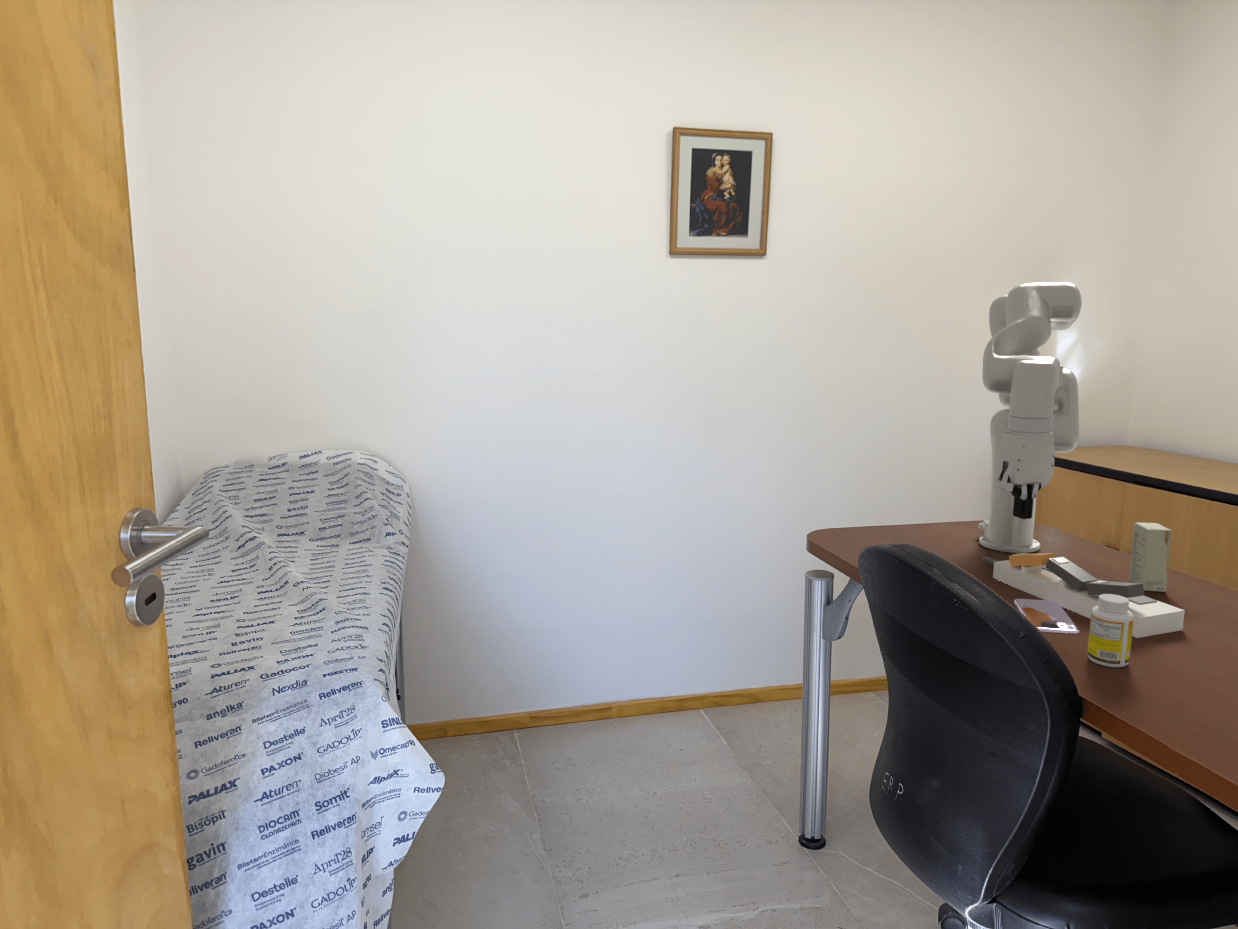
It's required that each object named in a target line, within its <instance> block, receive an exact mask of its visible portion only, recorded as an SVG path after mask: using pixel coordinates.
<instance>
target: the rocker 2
mask: <svg viewBox="0 0 1238 929" xmlns="http://www.w3.org/2000/svg"><path fill="white" fill-rule="evenodd" d="M1046 568H1047V569H1048V570H1050V571H1051V572H1052V573H1054V574H1055V575H1057V576H1058V577H1060V578H1061V579H1062V580H1064V581H1065V582H1067V583H1068V584H1069V585H1071V586H1072V587H1074V588H1075V589H1077V590H1078V591H1085V590H1087V584H1086V583H1091V582H1096V581H1098V580H1099V579H1098V578H1096V577H1094V576H1093V575H1092V574H1090V573H1089V572H1088V571H1086V570H1085V569H1083V568H1082V567H1080V566H1078V565H1077V564H1075V563H1074V562H1072V561H1071V560H1070V559H1068V558H1067V557H1065V556H1056V558H1049V559H1048V562H1047V565H1046Z"/></svg>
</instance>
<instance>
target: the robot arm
mask: <svg viewBox="0 0 1238 929" xmlns="http://www.w3.org/2000/svg"><path fill="white" fill-rule="evenodd" d="M1081 310H1082V295H1081V291H1080V290H1079V288H1078V287H1077V286H1076V285H1075V284H1074V283H1071V282H1068V281H1066V282H1065V281H1063V282H1062V281H1061V282H1029V283H1023V284H1020V285H1017V286H1015V287H1013V288H1012V289H1011V290H1009V292H1008V294H1006V295H1002V296H998V297H997V298H995V299H994V300H993V301H992V303H991V304H990V306H989V310H988V311H989V312H988V319H989V320H988V322H989V324H988V325H989V331H990V335H991V338H990V339H989V341H988V342H987V344H986V345H985V348H984V351H983V355H982V382H983V385H984V387H985V389H986V390H987V391H989V392H990V393H995V394H998V398H999V399H998V400H999V403H1000V404H1001V405H1002V406H1003V407H1004V408H1005V407H1006V409H1001V410H999V411H996V413H994V414H993V416H992V417H991V420H990V425H989V426H990V428H989V429H990V431H989V433H990V444H991V472H990V473H991V474H990V486H989V501H988V513H987V514H988V515H987V519H983V520H982V522H979V523H978V524H977V528H978V529H980V530H983V535H981V536H980V537H979V540H978V543H979V544H980V545H981V546H982V547H984V548H986V549H990V550H991V551H992V550H993V551H997V552H1002V553H1011V554H1020V553H1029V554H1031V553H1035V552H1037V551H1039V550H1040V548H1041V543H1040V542H1039V541H1038V540H1036V539H1034V529H1035V516H1036V507H1037V505H1036V503H1037V496H1038V493H1039V491H1040V490H1041V489H1043V488H1045V487H1048V486H1049V485H1050V480H1051V479H1052V478H1053V475H1054V469H1055V454H1065V453H1070V452H1072V451H1073V450H1075V448H1076V447H1077V445H1078V443H1079V439H1080V438H1079V437H1080V410H1079V408H1080V407H1079V385H1078V380H1077V377H1076V375H1075V373H1074V372H1073V371H1071V370H1070V369H1067V368H1064V366H1063V364H1062V363H1061V362H1060V360H1059V359H1058V358H1056V357H1054V356H1050V355H1041V354H1040V351H1039V348H1041V347H1042V346H1043V345H1045V344H1047V342H1048V341H1049V339H1050V337H1051V335H1052V331H1065V330H1067V329H1069V328H1071V326H1072V325H1073V324H1074V323H1075V322H1076V321H1077V319H1078V318H1079V315H1080V313H1081Z"/></svg>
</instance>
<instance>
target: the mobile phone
mask: <svg viewBox="0 0 1238 929" xmlns="http://www.w3.org/2000/svg"><path fill="white" fill-rule="evenodd" d="M1013 603H1014V604H1015V606H1016V605H1017V606H1016V607H1017V609H1018V611H1019V613H1020V612H1021V613H1022V614H1024V616H1026V617H1027V618H1028V620H1030V621H1031V622H1032V623H1033V624H1034V625H1035V626H1036V627H1037V628H1038V629H1039V630H1040V631H1039V632H1045V633H1058V634H1059V633H1060V634H1069V633H1071V634H1072V635H1075V634H1077V633H1078V634H1079V633H1080V629H1079V628H1078V627H1077V626H1076V624H1075V623H1074V622H1073V620H1072V619H1071V618H1070V616H1069V615H1068V614H1067V612H1066V611H1065V610H1064V608H1063V607H1061V606H1060V605H1059V604H1058V603H1057V602H1054V601H1048V600H1044V599H1033V598H1032V599H1031V598H1030V599H1029V598H1016V599H1014V601H1013ZM1021 613H1020V614H1021ZM1022 614H1021V615H1022ZM1073 633H1074V634H1073Z"/></svg>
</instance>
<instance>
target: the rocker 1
mask: <svg viewBox="0 0 1238 929" xmlns="http://www.w3.org/2000/svg"><path fill="white" fill-rule="evenodd" d="M1056 557H1057V555H1056V553H1055V552H1046V553H1045V552H1044V553H1043V552H1042V553H1037V552H1036V553H1012V554H1011V555H1008V558H1009V559H1008V560H1010V566H1044V565H1047V562H1048V559H1049V558H1056Z"/></svg>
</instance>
